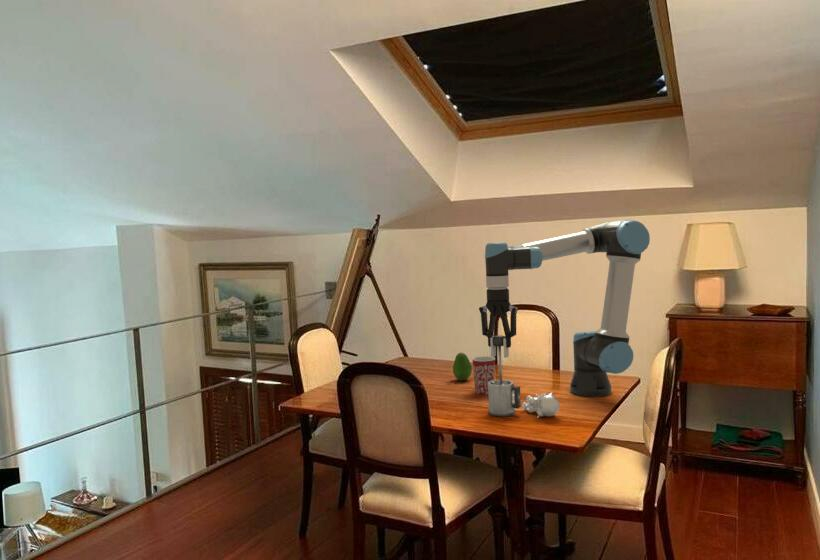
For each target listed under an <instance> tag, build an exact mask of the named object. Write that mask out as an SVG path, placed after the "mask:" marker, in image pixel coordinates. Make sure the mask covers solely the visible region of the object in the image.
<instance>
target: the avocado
mask: <svg viewBox="0 0 820 560" xmlns="http://www.w3.org/2000/svg"><path fill="white" fill-rule="evenodd" d="M452 371H453V375H454V377H455V378H456V380H458V381H465V380H468V379H469V378H470V377H471V375H472V371H473V365H472V364H471V362H470V359H469V357H468V355H466V354H465V353H464V352H458V353H457V354H456V356H455V359H454V362H453V365H452Z"/></svg>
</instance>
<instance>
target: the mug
mask: <svg viewBox="0 0 820 560" xmlns="http://www.w3.org/2000/svg"><path fill="white" fill-rule="evenodd" d="M471 361H472V371H473V381H474V382H473V383H474V392H475V394H477V395H480V396H488V382H490V381H494V380H495V372H496V371H495V369H496V368H495V367H496V365H495V364H496V357H495V356H494V357H491V355H490V356H489V355H487V356H486V355H485V356H484V355H483V356H482V355H481V356H480V355H479V356H474V357H472V358H471Z"/></svg>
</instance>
